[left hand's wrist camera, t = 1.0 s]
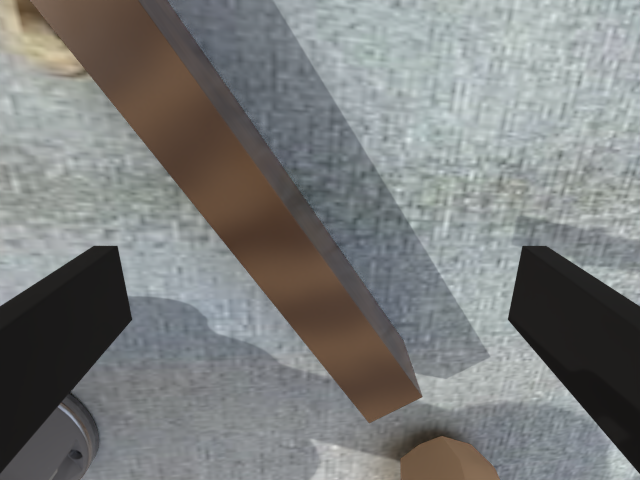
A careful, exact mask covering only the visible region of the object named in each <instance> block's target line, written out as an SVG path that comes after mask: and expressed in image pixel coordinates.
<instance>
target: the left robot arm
mask: <svg viewBox="0 0 640 480" xmlns="http://www.w3.org/2000/svg"><path fill="white" fill-rule="evenodd" d="M131 320H132V317H131V311H130V306H129V301H128V296H127V291H126V286H125V281H124V276H123V271H122V266H121V261H120V256H119V251H118V246H93V247H91V248H90V249H88V250H87V251H85V252H84V253H82V254H81V255H79V256H78V257H76V258H74V259H73V260H71V261H70V262H68V263H67V264H65V265H64V266H62V267H60V268H59V269H57V270H56V271H54V272H53V273H51V274H50V275H48V276H47V277H45V278H43V279H42V280H40V281H39V282H37V283H36V284H34V285H33V286H31V287H30V288H28V289H26V290H25V291H23V292H22V293H20V294H19V295H17V296H16V297H14V298H13V299H11V300H9V301H8V302H6V303H5V304H3V305H2V306H0V480H80V479H81V478H82V477H83V475H84V474H85V472H86V471H87V469H88V468H89V466H90V464H91V463H92V461H93V460H94V458H95V456H96V454H97V451H98V446H99V435H98V430H97V427H96V425H95V422H94V420H93V418H92V417H91V415H90V414H89V412H88V411H87V410H86V408H85V407H84V406H83V405H82V404H81V403H80V402H79V401H78V400H77V399H76V398H74V397H73V396H72V395H71V394H69V393H70V392H71V390H72V389H73V388H74V387H75V386H76V385H77V383H78V382H79V381H80V380H81V379H82V378H83V376H84V375H85V374H86V373H87V372H88V371H89V369H90V368H91V367H92V366H93V365H94V364H95V362H96V361H97V360H98V359H99V358H100V357H101V355H102V354H103V353H104V352H105V351H106V349H107V348H108V347H109V346H110V345H111V344H112V342H113V341H114V340H115V339H116V338H117V337H118V335H119V334H120V333H121V332H122V331H123V330H124V328H125V327H126V326H127V325H128V324H129V323H130V321H131ZM508 320H509V321H510V323H511V324H512V325H513V326H514V327H515V328H516V330H517V331H518V332H519V333H520V334H521V335H522V337H523V338H524V339H525V340H526V341H527V342H528V344H529V345H530V346H531V347H532V348H533V350H534V351H535V352H536V353H537V354H538V355H539V357H540V358H541V359H542V360H543V361H544V362H545V364H546V365H547V366H548V367H549V368H550V369H551V371H552V372H553V373H554V374H555V375H556V376H557V378H558V379H559V380H560V381H561V382H562V383H563V385H564V386H565V387H566V388H567V389H568V390H569V392H570V393H571V394H572V395H573V396H574V397H575V399H576V400H577V401H578V402H579V403H580V404H581V406H582V407H583V408H584V409H585V410H586V411H587V413H588V414H589V415H590V416H591V417H592V419H593V420H594V421H595V422H596V423H597V424H598V426H599V427H600V428H601V429H602V430H603V431H604V433H605V434H606V435H607V436H608V437H609V438H610V440H611V441H612V442H613V443H614V444H615V445H616V447H617V448H618V449H619V450H620V451H621V452H622V454H623V455H624V456H625V457H626V458H627V459H628V461H629V462H630V463H631V464H632V465H633V466H634V468H635V469H636V470H637V471H638V472H639V473H640V306H638V305H637V304H635V303H634V302H632V301H631V300H629V299H627V298H626V297H624V296H623V295H621V294H620V293H618V292H617V291H615V290H614V289H612V288H610V287H609V286H607V285H606V284H604V283H603V282H601V281H600V280H598V279H597V278H595V277H593V276H592V275H590V274H589V273H587V272H586V271H584V270H583V269H581V268H580V267H578V266H576V265H575V264H573V263H572V262H570V261H569V260H567V259H566V258H564V257H562V256H561V255H559V254H558V253H556V252H555V251H553V250H552V249H550V248H549V247H547V246H522V251H521V256H520V261H519V266H518V271H517V276H516V281H515V286H514V291H513V296H512V301H511V306H510V311H509V317H508Z"/></svg>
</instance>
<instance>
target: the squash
mask: <svg viewBox="0 0 640 480" xmlns="http://www.w3.org/2000/svg"><path fill="white" fill-rule="evenodd" d="M400 462H401V480H500V479H499V476H498V474H497V472H496V470H495V468H494V467H493V465H492V464H491V463H489V462H488V461H487V460H486V459H485V458H484V457H483V456H482V455H481V454H480V453H479V452H478V451H477V450H476V449H475V448H474V447H473V446H472V445H471V444H468V443H464V442H461V441H457V440H454V439H451V438H447V437H444V436H440V437H437V438H435V439H432V440H429V441H427V442H424V443H422V444H419V445H418V446H416V447H415V448H414V449H412V450H411V451H410V452H409V453H407V454H406V455H405V456H403V457H402V458H401V459H400Z"/></svg>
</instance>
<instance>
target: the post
mask: <svg viewBox="0 0 640 480" xmlns="http://www.w3.org/2000/svg"><path fill="white" fill-rule="evenodd" d="M30 1H31V2H32V4H33V5H34V6H35V7H36V9H37V10H38V11H39V12H40V13H41V15H42V16H43V17H44V18H45V20H46V21H47V22H48V23H49V25H50V26H51V27H52V28H53V30H54V31H55V32H56V33H57V35H58V36H59V37H60V38H61V40H62V41H63V42H64V43H65V45H66V46H67V47H68V48H69V50H70V51H71V52H72V53H73V55H74V56H75V57H76V58H77V60H78V61H79V62H80V63H81V65H82V66H83V67H84V68H85V70H86V71H87V72H88V73H89V75H90V76H91V77H92V78H93V80H94V81H95V82H96V83H97V85H98V86H99V87H100V88H101V90H102V91H103V92H104V93H105V95H106V96H107V97H108V98H109V100H110V101H111V102H112V103H113V104H114V106H115V107H116V108H117V109H118V111H119V112H120V113H121V114H122V116H123V117H124V118H125V119H126V121H127V122H128V123H129V124H130V126H131V127H132V128H133V129H134V131H135V132H136V133H137V134H138V136H139V137H140V138H141V139H142V141H143V142H144V143H145V144H146V146H147V147H148V148H149V149H150V151H151V152H152V153H153V154H154V156H155V157H156V158H157V159H158V161H159V162H160V163H161V164H162V166H163V167H164V168H165V169H166V171H167V172H168V173H169V174H170V176H171V177H172V178H173V179H174V181H175V182H176V183H177V184H178V186H179V187H180V188H181V189H182V191H183V192H184V193H185V194H186V195H187V197H188V198H189V199H190V200H191V202H192V203H193V204H194V205H195V207H196V208H197V209H198V210H199V212H200V213H201V214H202V215H203V217H204V218H205V219H206V220H207V222H208V223H209V224H210V225H211V227H212V228H213V229H214V230H215V232H216V233H217V234H218V235H219V237H220V238H221V239H222V240H223V242H224V243H225V244H226V245H227V247H228V248H229V249H230V250H231V252H232V253H233V254H234V255H235V257H236V258H237V259H238V260H239V262H240V263H241V264H242V265H243V267H244V268H245V269H246V270H247V272H248V273H249V274H250V275H251V277H252V278H253V279H254V280H255V281H256V283H257V284H258V285H259V286H260V288H261V289H262V290H263V291H264V293H265V294H266V295H267V296H268V298H269V299H270V300H271V301H272V303H273V304H274V305H275V306H276V308H277V309H278V310H279V311H280V313H281V314H282V315H283V316H284V318H285V319H286V320H287V321H288V323H289V324H290V325H291V326H292V328H293V329H294V330H295V331H296V333H297V334H298V335H299V336H300V338H301V339H302V340H303V341H304V343H305V344H306V345H307V346H308V348H309V349H310V350H311V351H312V353H313V354H314V355H315V356H316V358H317V359H318V360H319V361H320V363H321V364H322V365H323V366H324V368H325V369H326V370H327V371H328V372H329V374H330V375H331V376H332V377H333V379H334V380H335V381H336V382H337V384H338V385H339V386H340V387H341V389H342V390H343V391H344V392H345V394H346V395H347V396H348V397H349V399H350V400H351V401H352V402H353V404H354V405H355V406H356V407H357V409H358V410H359V411H360V412H361V414H362V415H363V416H364V417H365V419H366V420H367V421H368V422H369V423H371V422H373V421H375V420H377V419H379V418H381V417H383V416H385V415H387V414H389V413H391V412H393V411H395V410H397V409H399V408H401V407H403V406H405V405H407V404H409V403H411V402H413V401H415V400H417V399H419V398H422V394H421V391H420V388H419V385H418V382H417V379H416V376H415V373H414V370H413V367H412V364H411V361H410V358H409V355H408V352H407V350H406V347H405V344H404V341H403V339H402V338H401V337H400V335H399V334H398V332H397V331H396V329H395V328H394V326H393V325H392V324H391V322H390V321H389V319H388V318H387V316H386V315H385V314H384V312H383V311H382V309H381V308H380V306H379V305H378V303H377V302H376V301H375V299H374V298H373V296H372V295H371V293H370V292H369V290H368V289H367V288H366V286H365V285H364V283H363V282H362V280H361V279H360V278H359V276H358V275H357V273H356V272H355V270H354V269H353V267H352V266H351V265H350V263H349V262H348V260H347V259H346V257H345V256H344V254H343V253H342V252H341V250H340V249H339V247H338V246H337V244H336V243H335V241H334V240H333V239H332V237H331V236H330V234H329V233H328V231H327V230H326V229H325V227H324V226H323V224H322V223H321V221H320V220H319V218H318V217H317V216H316V214H315V213H314V211H313V210H312V208H311V207H310V205H309V204H308V203H307V201H306V200H305V198H304V197H303V195H302V194H301V192H300V191H299V190H298V188H297V187H296V185H295V184H294V182H293V181H292V180H291V178H290V177H289V175H288V174H287V172H286V171H285V169H284V168H283V167H282V165H281V164H280V162H279V161H278V159H277V158H276V156H275V155H274V154H273V152H272V151H271V149H270V148H269V146H268V145H267V143H266V142H265V141H264V139H263V138H262V136H261V135H260V133H259V132H258V131H257V129H256V128H255V126H254V125H253V123H252V122H251V120H250V119H249V118H248V116H247V115H246V113H245V112H244V110H243V109H242V107H241V106H240V105H239V103H238V102H237V100H236V99H235V97H234V96H233V95H232V93H231V92H230V90H229V89H228V87H227V86H226V84H225V83H224V82H223V80H222V79H221V77H220V76H219V74H218V73H217V71H216V70H215V69H214V67H213V66H212V64H211V63H210V61H209V60H208V58H207V57H206V56H205V54H204V53H203V51H202V50H201V48H200V47H199V46H198V44H197V43H196V41H195V40H194V38H193V37H192V35H191V34H190V33H189V31H188V30H187V28H186V27H185V25H184V24H183V22H182V21H181V20H180V18H179V17H178V15H177V14H176V12H175V11H174V9H173V8H172V7H171V5H170V4H169V2H168V1H167V0H30Z"/></svg>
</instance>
